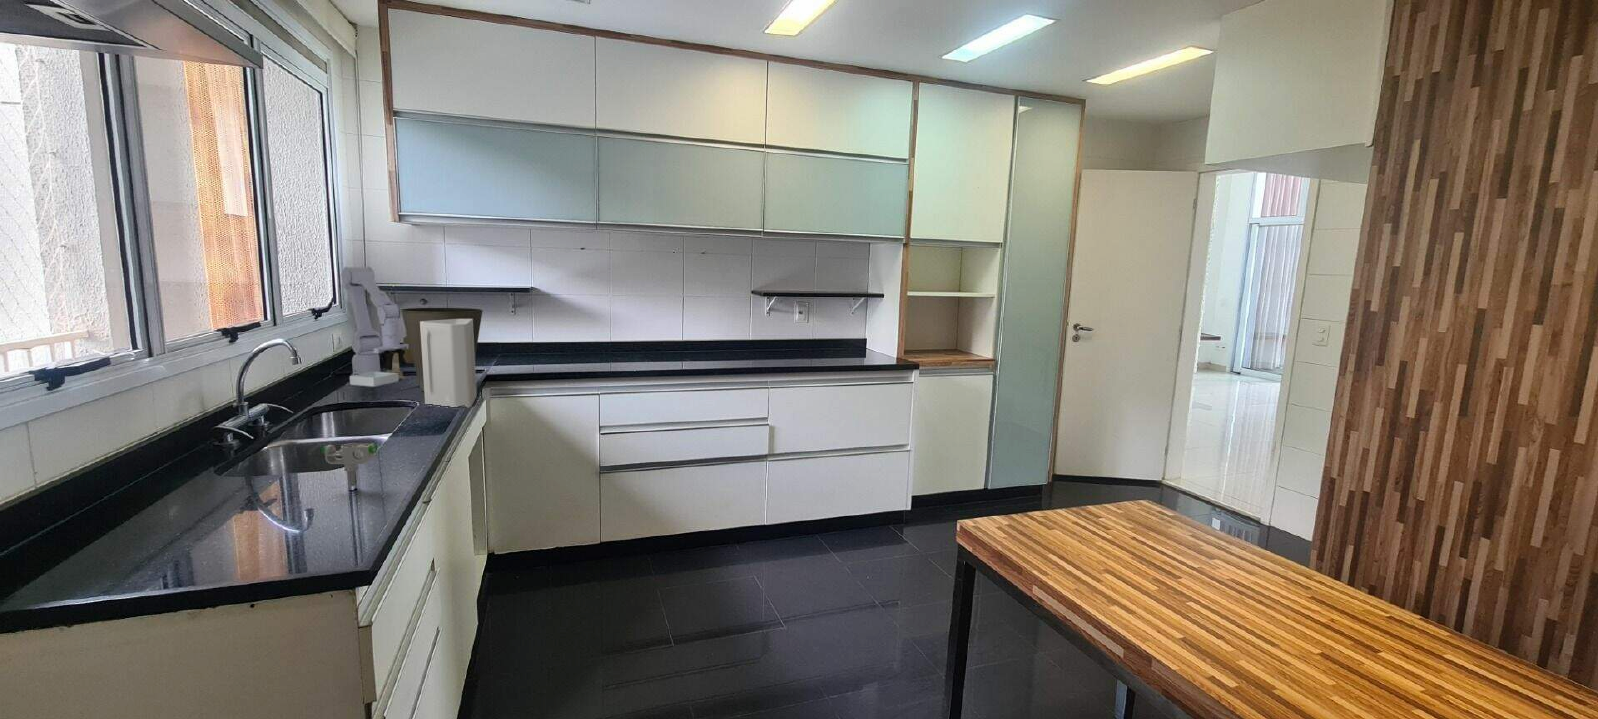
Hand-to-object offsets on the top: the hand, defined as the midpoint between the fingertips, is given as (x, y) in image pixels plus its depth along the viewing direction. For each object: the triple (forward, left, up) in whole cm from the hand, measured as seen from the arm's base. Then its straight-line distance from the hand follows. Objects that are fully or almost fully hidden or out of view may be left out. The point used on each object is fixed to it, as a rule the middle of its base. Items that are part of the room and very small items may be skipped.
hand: (393, 369), depth 259 cm
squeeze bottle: (-25, +35, -5) cm, 43 cm away
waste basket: (+31, -6, -5) cm, 32 cm away
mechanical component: (+92, -100, -5) cm, 136 cm away
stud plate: (0, 0, -4) cm, 4 cm away
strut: (0, 0, -4) cm, 4 cm away
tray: (+2, -10, -4) cm, 12 cm away
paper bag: (+49, -25, -5) cm, 55 cm away
